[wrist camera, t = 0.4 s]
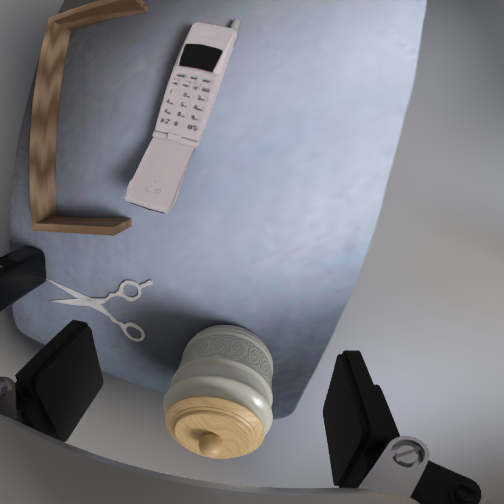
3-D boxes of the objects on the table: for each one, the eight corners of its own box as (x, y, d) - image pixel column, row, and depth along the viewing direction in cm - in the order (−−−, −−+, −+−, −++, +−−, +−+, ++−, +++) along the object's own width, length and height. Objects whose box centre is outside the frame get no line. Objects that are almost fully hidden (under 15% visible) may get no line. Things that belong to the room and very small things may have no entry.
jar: (283, 382, 44) (285, 476, 27) (205, 396, 46) (182, 483, 29) (257, 312, 41) (248, 406, 24) (171, 332, 42) (126, 418, 26)
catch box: (67, 27, 30) (49, 17, 25) (148, 6, 29) (134, -9, 24) (53, 222, 39) (32, 230, 34) (131, 226, 38) (114, 235, 33)
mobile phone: (122, 201, 32) (191, -4, 24) (142, 194, 37) (201, 16, 30) (171, 217, 32) (242, 4, 24) (185, 208, 37) (246, 24, 30)
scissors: (153, 345, 43) (50, 318, 43) (155, 342, 44) (52, 316, 44) (152, 280, 40) (42, 260, 40) (154, 278, 41) (44, 258, 41)
